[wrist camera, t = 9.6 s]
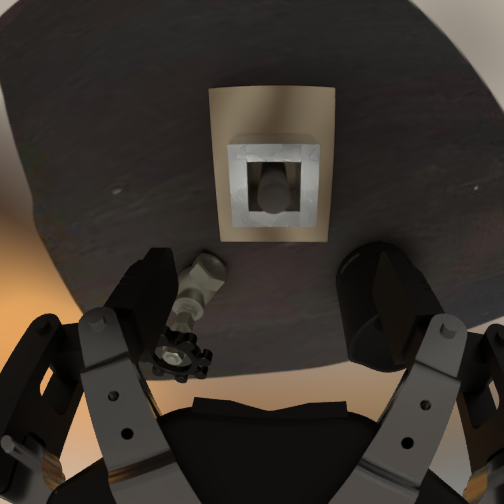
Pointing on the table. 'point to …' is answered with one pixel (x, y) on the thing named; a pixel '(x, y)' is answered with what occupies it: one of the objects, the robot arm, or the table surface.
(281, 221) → the block
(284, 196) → the shaft stand
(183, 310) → the valve
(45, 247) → the table surface
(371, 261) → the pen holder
